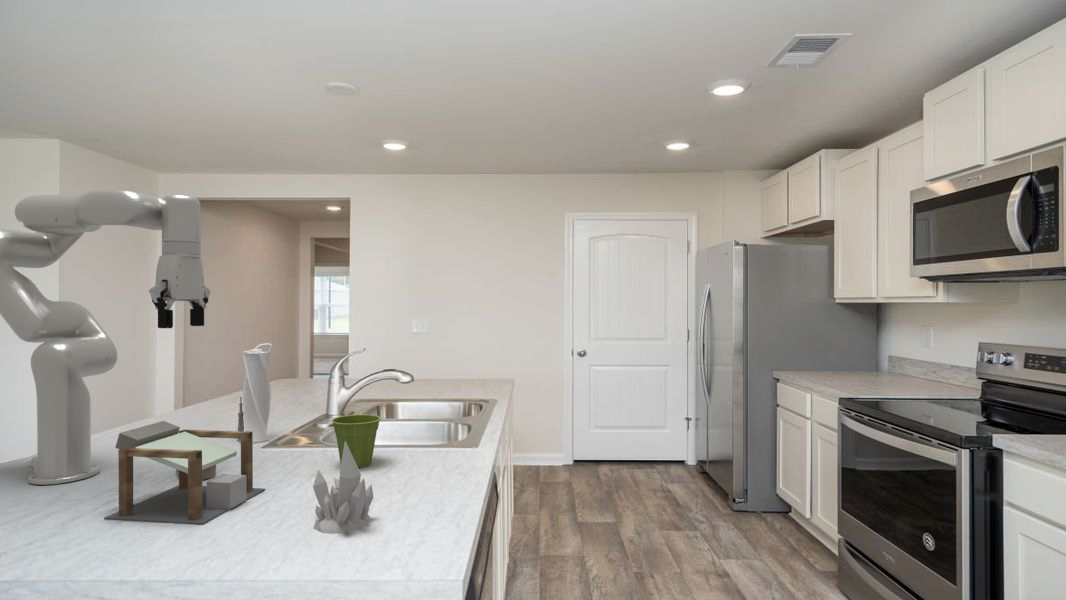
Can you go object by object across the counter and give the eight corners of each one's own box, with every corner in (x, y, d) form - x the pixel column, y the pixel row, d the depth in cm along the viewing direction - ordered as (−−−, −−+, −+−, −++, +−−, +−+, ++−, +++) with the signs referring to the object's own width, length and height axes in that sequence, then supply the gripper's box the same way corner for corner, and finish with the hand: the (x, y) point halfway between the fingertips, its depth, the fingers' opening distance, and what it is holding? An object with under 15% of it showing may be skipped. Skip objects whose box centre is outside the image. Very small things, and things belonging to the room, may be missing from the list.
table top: (104, 519, 107) (104, 517, 107) (179, 486, 126) (179, 484, 126) (203, 524, 104) (203, 523, 104) (265, 489, 123) (265, 488, 123)
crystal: (339, 506, 113) (339, 430, 113) (386, 521, 106) (386, 439, 106) (294, 523, 105) (293, 440, 105) (342, 540, 98) (341, 451, 98)
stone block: (206, 481, 112) (230, 482, 111) (223, 474, 117) (246, 475, 116) (206, 507, 112) (230, 508, 111) (223, 498, 117) (246, 499, 116)
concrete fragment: (182, 486, 126) (182, 458, 126) (172, 471, 137) (172, 445, 137) (218, 479, 131) (218, 452, 131) (206, 465, 142) (206, 441, 142)
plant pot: (384, 468, 139) (384, 421, 139) (332, 474, 134) (332, 425, 134) (378, 455, 150) (378, 412, 150) (330, 460, 145) (329, 415, 145)
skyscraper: (267, 436, 172) (267, 342, 172) (275, 441, 166) (275, 343, 166) (236, 441, 167) (236, 343, 167) (243, 446, 160) (243, 345, 160)
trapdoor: (110, 449, 110) (115, 434, 110) (163, 433, 123) (167, 419, 123) (189, 479, 108) (193, 464, 108) (234, 460, 121) (238, 446, 121)
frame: (118, 517, 108) (118, 449, 108) (184, 488, 125) (184, 429, 125) (196, 521, 106) (195, 452, 106) (252, 491, 123) (252, 431, 122)
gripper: (193, 254, 140) (194, 325, 140) (135, 248, 123) (135, 329, 123) (222, 253, 139) (222, 325, 139) (167, 247, 122) (167, 329, 122)
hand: (181, 327), depth 131 cm, fingers open, 9 cm apart
